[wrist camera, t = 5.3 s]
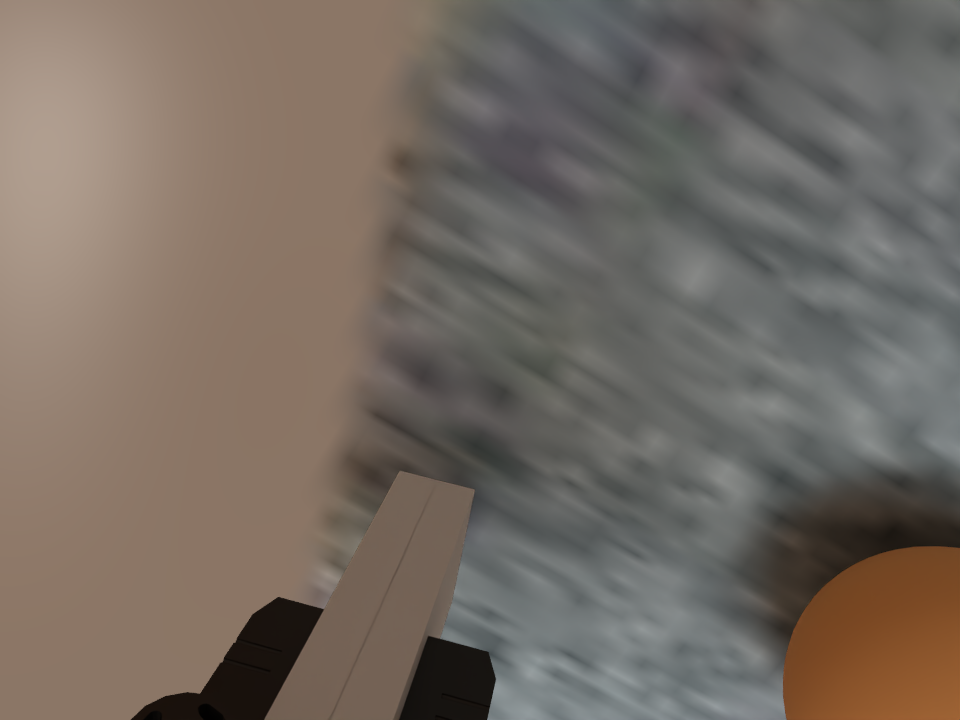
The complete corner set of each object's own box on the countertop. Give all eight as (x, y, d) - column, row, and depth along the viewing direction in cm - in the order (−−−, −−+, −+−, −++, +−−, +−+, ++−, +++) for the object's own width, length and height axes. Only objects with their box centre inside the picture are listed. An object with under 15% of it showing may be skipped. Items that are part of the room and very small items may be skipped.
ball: (981, 442, 15) (1151, 644, 10) (1100, 655, 16) (1304, 929, 11) (715, 559, 17) (747, 776, 12) (838, 742, 18) (914, 1009, 13)
